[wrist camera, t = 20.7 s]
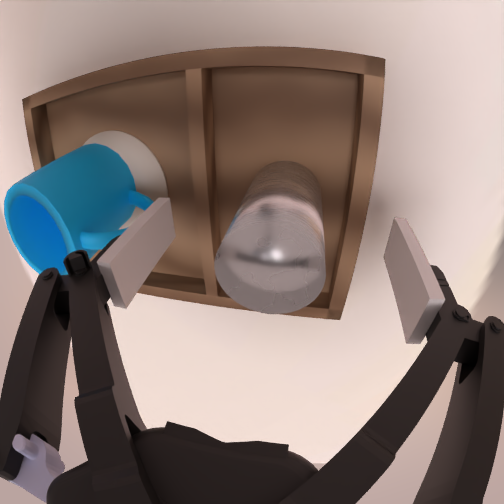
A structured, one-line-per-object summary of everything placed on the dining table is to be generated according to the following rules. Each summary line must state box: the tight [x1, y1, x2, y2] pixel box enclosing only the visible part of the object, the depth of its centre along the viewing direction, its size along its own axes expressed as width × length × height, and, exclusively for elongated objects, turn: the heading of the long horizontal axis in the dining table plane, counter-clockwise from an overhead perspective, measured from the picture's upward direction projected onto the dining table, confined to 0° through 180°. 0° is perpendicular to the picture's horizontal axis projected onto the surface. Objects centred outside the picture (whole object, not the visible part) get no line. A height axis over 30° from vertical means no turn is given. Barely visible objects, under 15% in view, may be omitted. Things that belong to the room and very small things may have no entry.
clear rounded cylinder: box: [214, 161, 326, 314], centre depth 16 cm, size 5×5×9 cm
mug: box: [4, 143, 154, 275], centre depth 19 cm, size 12×8×8 cm
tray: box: [22, 47, 385, 320], centre depth 21 cm, size 20×28×3 cm
